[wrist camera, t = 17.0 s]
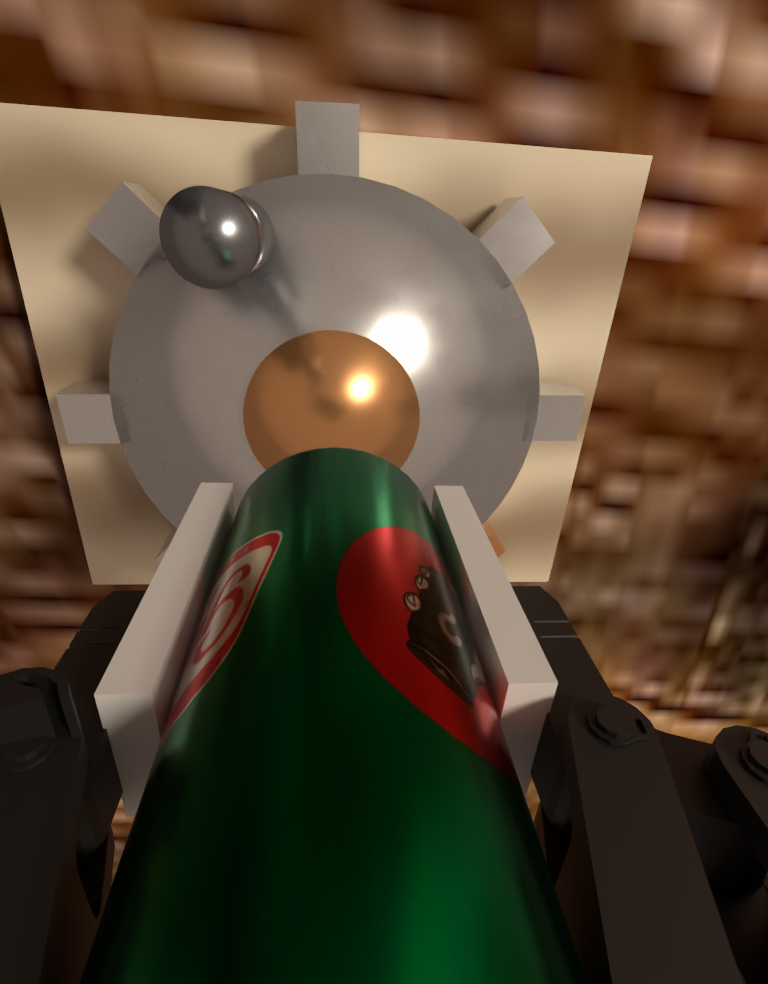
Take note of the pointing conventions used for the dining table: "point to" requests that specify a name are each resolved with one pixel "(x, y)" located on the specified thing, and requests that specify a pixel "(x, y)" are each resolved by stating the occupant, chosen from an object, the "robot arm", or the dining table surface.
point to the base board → (273, 154)
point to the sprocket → (319, 332)
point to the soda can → (333, 767)
